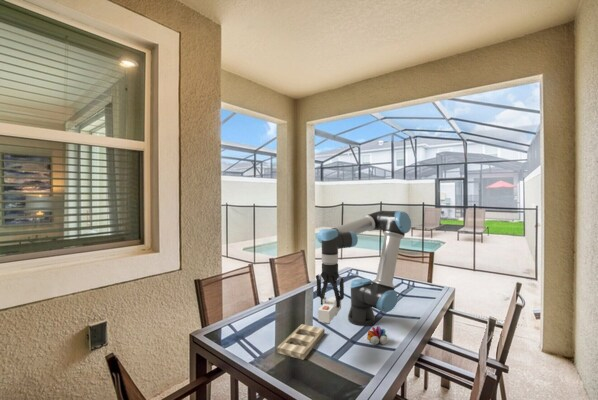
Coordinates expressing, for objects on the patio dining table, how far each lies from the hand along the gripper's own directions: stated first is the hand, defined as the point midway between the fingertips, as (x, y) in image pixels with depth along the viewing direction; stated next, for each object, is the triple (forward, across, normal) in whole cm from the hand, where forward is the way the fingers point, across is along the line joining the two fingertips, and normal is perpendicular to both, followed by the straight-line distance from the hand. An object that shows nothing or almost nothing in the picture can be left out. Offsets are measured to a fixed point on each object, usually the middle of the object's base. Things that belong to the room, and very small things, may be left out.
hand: (330, 313), depth 129 cm
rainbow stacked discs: (+17, -18, -16) cm, 30 cm away
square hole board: (+17, +14, 0) cm, 22 cm away
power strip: (+3, 0, 0) cm, 3 cm away
